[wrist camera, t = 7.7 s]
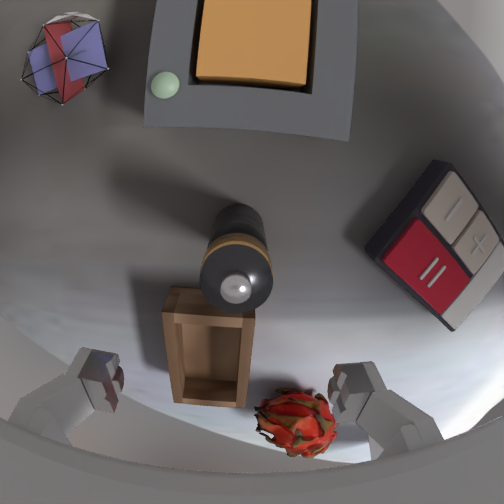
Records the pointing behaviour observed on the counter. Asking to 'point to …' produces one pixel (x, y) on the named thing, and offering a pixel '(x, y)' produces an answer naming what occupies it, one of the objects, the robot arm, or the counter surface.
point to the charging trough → (206, 350)
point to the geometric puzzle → (67, 57)
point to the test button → (254, 42)
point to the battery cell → (237, 261)
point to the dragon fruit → (297, 422)
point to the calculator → (441, 245)
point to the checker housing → (250, 96)
